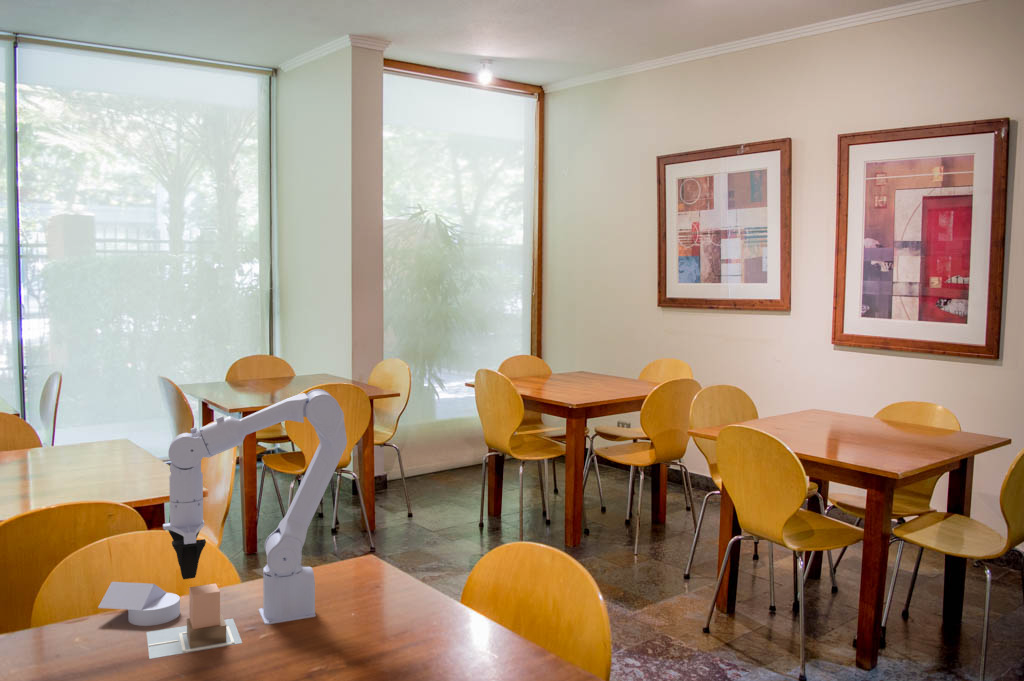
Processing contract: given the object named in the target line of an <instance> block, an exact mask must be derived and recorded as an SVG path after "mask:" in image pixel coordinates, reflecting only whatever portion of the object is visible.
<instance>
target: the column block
mask: <svg viewBox="0 0 1024 681" xmlns="http://www.w3.org/2000/svg"><path fill="white" fill-rule="evenodd" d="M188 588H189V589H188V591H189V593H188V594H189V595H188V596H189V597H188V598H189V599H188V600H189V601H188V602H189V618H190V623H191V625H192V628H193V629H198V628H204V627H210V626H215V625H220V614H221V591H220V589H219V587H218V585H217V583H210V584H203V585H195V586H189V587H188Z"/></svg>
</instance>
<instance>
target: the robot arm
mask: <svg viewBox="0 0 1024 681" xmlns="http://www.w3.org/2000/svg"><path fill="white" fill-rule="evenodd" d="M304 418H307V420H308V422H309V423H310V424H311V426H312V427H313V428H314V431H315V433H316V436H317V437H318V440H319V444H318V445H317V448H316V450H315V452H314V454H313V456H312V458H311V460H310V463H309V465H308V467H307V469H306V471H305V473H304V475H303V477H302V480H301V482H300V484H299V486H298V487H297V490H296V492H295V495H294V496H293V498H292V501H291V503H290V505H289V508H287V509H288V510H287V512H286V513H285V515H284V517H283V518H282V519H281V520H280V522H279V523H278V526H277V527H276V529H274V531H273V532H271V533H270V534H269V535H268V536H267V537H266V540H265V541H264V552H265V553H266V554H265V555H266V564H265V566H264V567H263V568H262V569H263V570H262V571H263V572H262V573H263V576H262V577H263V579H262V580H263V584H262V586H263V588H262V590H263V591H262V592H263V594H262V595H263V598H262V600H263V604H262V605H263V607H260V608H258V613H259V615H260V617H261V619H262V621H263V623H264V625H267V626H268V625H273V624H274V625H275V624H280V623H286V622H291V621H297V620H302V619H303V620H304V619H310V618H315V617H316V616H317V615H316V596H315V595H316V582H315V580H316V579H315V574H314V569H313V568H312V566H303V565H302V560H303V559H302V558H303V557H302V550H303V547H304V544H305V542H306V538H307V533H308V530H309V526H310V524H311V522H312V520H313V518H314V516H315V513H316V512H317V510H318V507H319V505H320V503H321V501H322V499H323V497H324V494H325V492H326V490H327V488H328V486H329V484H330V481H331V480H332V478H333V475H334V473H335V471H336V469H337V466H338V465H339V462H340V460H341V458H342V457H343V454H344V452H345V450H346V447H347V444H348V440H347V439H348V438H347V432H346V431H347V430H346V425H345V413H344V411H343V409H342V407H341V406H340V404H339V402H338V401H337V399H336V398H335V397H333V396H332V395H331V394H330V392H328V391H327V390H324V389H320V388H316V389H312V390H310V391H308V392H307V393H305V392H303V393H298V394H296V395H293V396H291V397H288V398H285V399H282V400H280V401H278V402H275V403H274V404H271V405H268V406H267V407H264V408H263V409H260V410H257V411H256V412H253V413H251V414H248V415H247V416H245V417H242V418H237V417H234V416H231V415H229V416H227V417H224V415H220V416H218V417H216V421H215V422H212V423H209V424H207V425H203V426H202V427H199V428H198V427H196V426H195V427H192V428H190V432H182V433H179V434H178V435H177V436H175V437H174V438H173V439H172V441H171V442H170V446H169V448H168V458H169V459H168V460H170V462H171V463H170V465H169V471H170V474H169V522H168V523H163V524H162V528H163V530H164V531H167V530H168V533H169V535H170V537H171V538H172V541H171V546H172V547H173V548H172V549H174V551H175V553H176V559H177V562H178V565H179V569H180V575H181V578H182V580H190V579H196V576H197V572H198V566H199V561H200V558H201V554H202V552H203V549H204V548H205V547H206V544H207V541H206V538H204V539H198V536H199V534H200V531H201V530H202V529H203V528H204V526H205V520H204V490H203V489H204V474H203V472H202V460H203V458H209V459H210V458H212V457H214V456H216V455H219V454H221V453H224V452H226V451H229V450H230V449H233V448H236V447H238V446H241V445H242V444H243V442H244V440H245V438H246V436H247V435H250V434H252V433H255V432H258V431H260V430H263V429H266V428H269V427H271V426H274V425H277V424H279V423H282V422H286V421H290V422H291V421H292V422H296V423H302V424H304V423H305V419H304Z"/></svg>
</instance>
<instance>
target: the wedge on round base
mask: <svg viewBox="0 0 1024 681" xmlns="http://www.w3.org/2000/svg"><path fill="white" fill-rule="evenodd" d="M97 608H98V609H112V610H113V609H114V610H127V611H128V616H127V617H128V622H129V623H130V624H132V625H134V626H141V627H143V626H144V627H147V626H148V627H149V626H150V627H151V626H157V625H162V624H166V623H169V622H171V621H174V620H176V619H177V618H178V617H179V616H180V614H181V598H180V596H179V595H178V594H176V593H173V592H167V591H165V590H164V589H162V588H161V587H159V586H158V585H156V584H155V583H146V582H145V583H144V582H125V581H124V582H123V581H111V582H110V584H109V586H108V588H107V590H106V592H105V594H104V595H103V598H102V599H101V601H100V603H99V605H98V607H97Z"/></svg>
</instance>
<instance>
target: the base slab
mask: <svg viewBox="0 0 1024 681" xmlns="http://www.w3.org/2000/svg"><path fill="white" fill-rule="evenodd" d="M224 620H225V618H224V616H223V613H220V625H215V626H210V627H204V628H198V629H193V628H192V625H191V623H190V617H189V618H186V626H187V638H188V642H189V646H190V648H195V647H201V646H206V645H212V644H218V643H224V642H226V623H225V621H224Z"/></svg>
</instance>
